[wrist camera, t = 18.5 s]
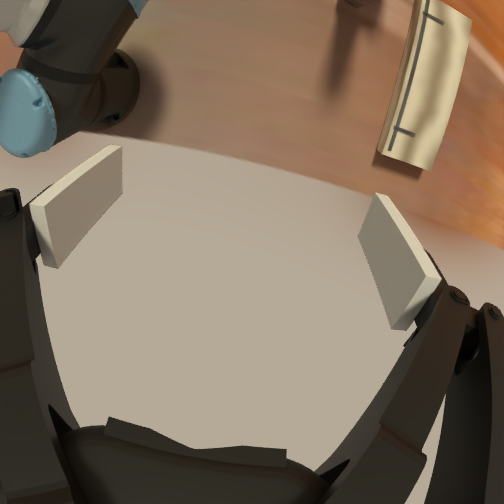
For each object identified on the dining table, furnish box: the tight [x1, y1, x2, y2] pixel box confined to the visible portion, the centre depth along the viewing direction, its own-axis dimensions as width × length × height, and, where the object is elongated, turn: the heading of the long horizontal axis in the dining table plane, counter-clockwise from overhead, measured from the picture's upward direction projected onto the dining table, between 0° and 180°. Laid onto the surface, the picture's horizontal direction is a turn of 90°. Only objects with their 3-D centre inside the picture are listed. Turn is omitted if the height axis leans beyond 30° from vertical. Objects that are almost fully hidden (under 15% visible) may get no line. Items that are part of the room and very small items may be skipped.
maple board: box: [376, 0, 472, 171], centre depth 36 cm, size 10×30×3 cm, turn 170°
